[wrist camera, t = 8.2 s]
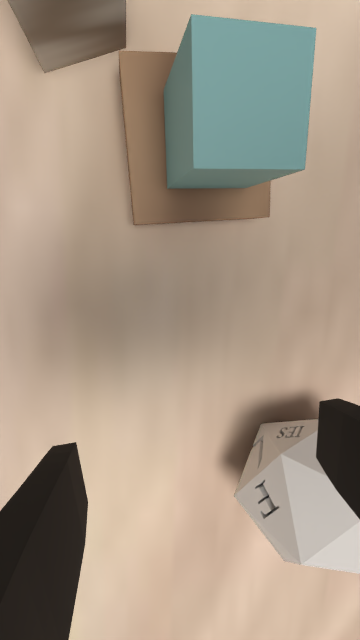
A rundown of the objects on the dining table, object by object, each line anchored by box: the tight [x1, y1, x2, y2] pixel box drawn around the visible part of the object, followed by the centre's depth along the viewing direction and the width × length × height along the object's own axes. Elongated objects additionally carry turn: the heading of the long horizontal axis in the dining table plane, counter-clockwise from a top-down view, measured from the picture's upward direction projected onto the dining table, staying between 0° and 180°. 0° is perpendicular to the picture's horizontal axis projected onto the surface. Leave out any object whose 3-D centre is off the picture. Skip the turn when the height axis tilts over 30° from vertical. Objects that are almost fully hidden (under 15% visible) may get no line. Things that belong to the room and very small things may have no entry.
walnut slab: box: [119, 51, 270, 225], centre depth 16 cm, size 7×7×2 cm
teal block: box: [164, 14, 316, 189], centre depth 12 cm, size 4×4×5 cm
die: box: [234, 419, 360, 574], centre depth 19 cm, size 8×9×10 cm
